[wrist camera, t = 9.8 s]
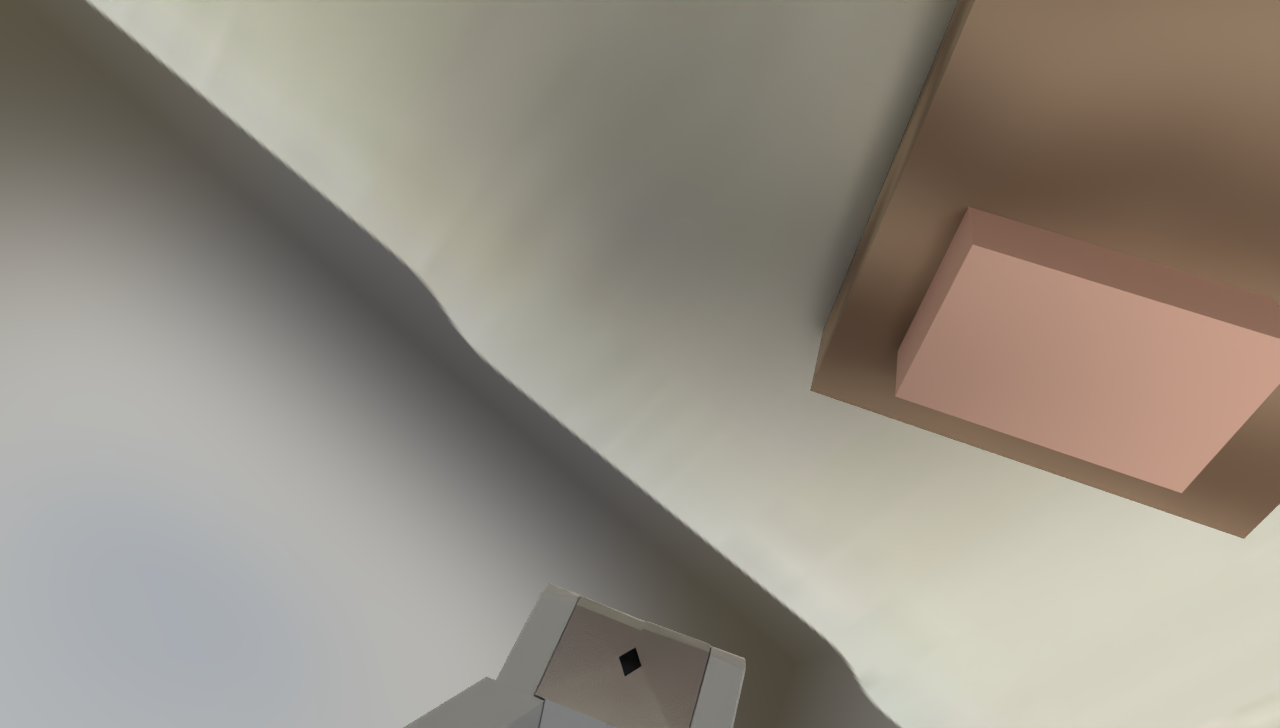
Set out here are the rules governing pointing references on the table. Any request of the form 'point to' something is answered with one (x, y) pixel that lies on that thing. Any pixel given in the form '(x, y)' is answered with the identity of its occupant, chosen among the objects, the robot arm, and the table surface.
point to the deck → (1083, 195)
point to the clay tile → (1089, 350)
